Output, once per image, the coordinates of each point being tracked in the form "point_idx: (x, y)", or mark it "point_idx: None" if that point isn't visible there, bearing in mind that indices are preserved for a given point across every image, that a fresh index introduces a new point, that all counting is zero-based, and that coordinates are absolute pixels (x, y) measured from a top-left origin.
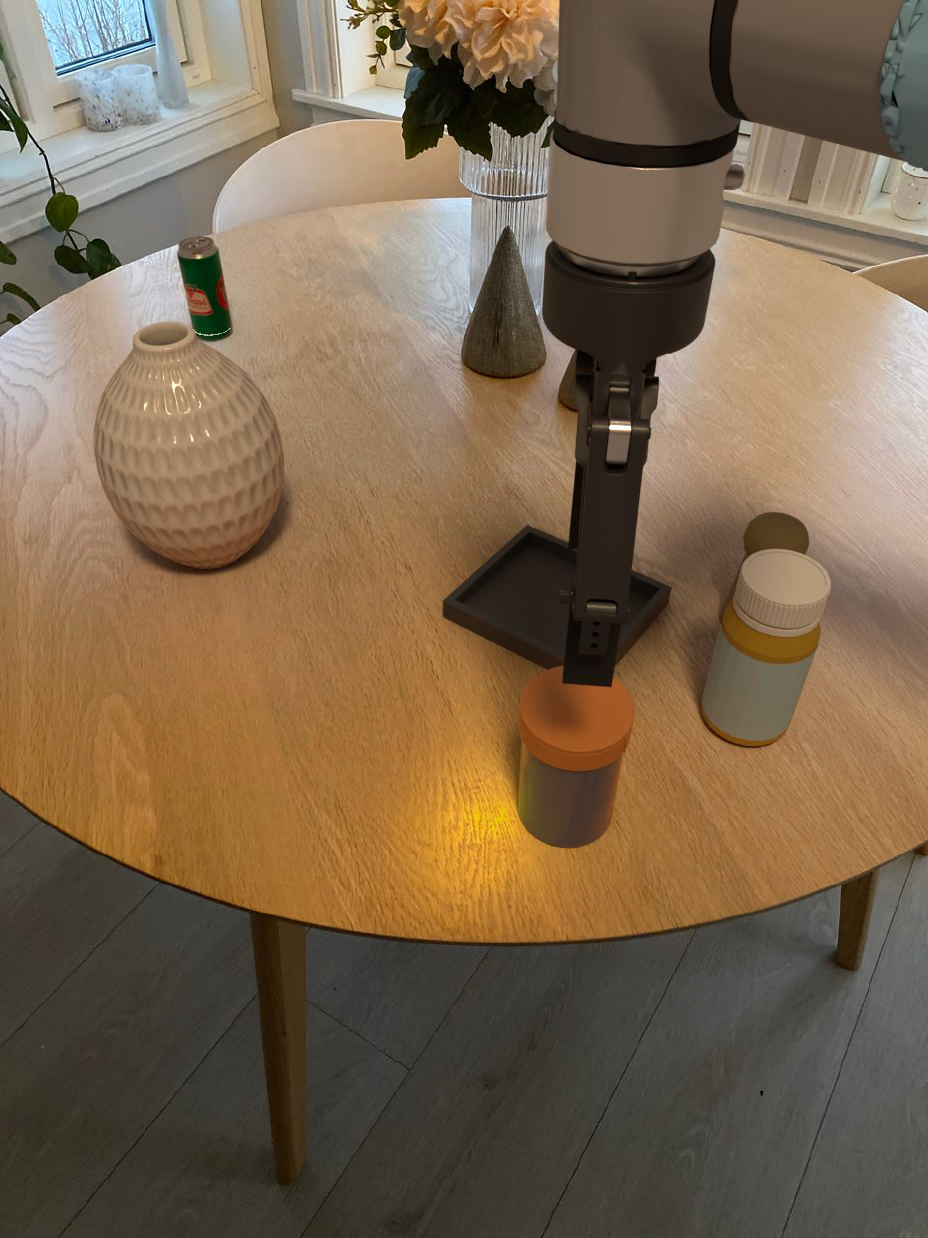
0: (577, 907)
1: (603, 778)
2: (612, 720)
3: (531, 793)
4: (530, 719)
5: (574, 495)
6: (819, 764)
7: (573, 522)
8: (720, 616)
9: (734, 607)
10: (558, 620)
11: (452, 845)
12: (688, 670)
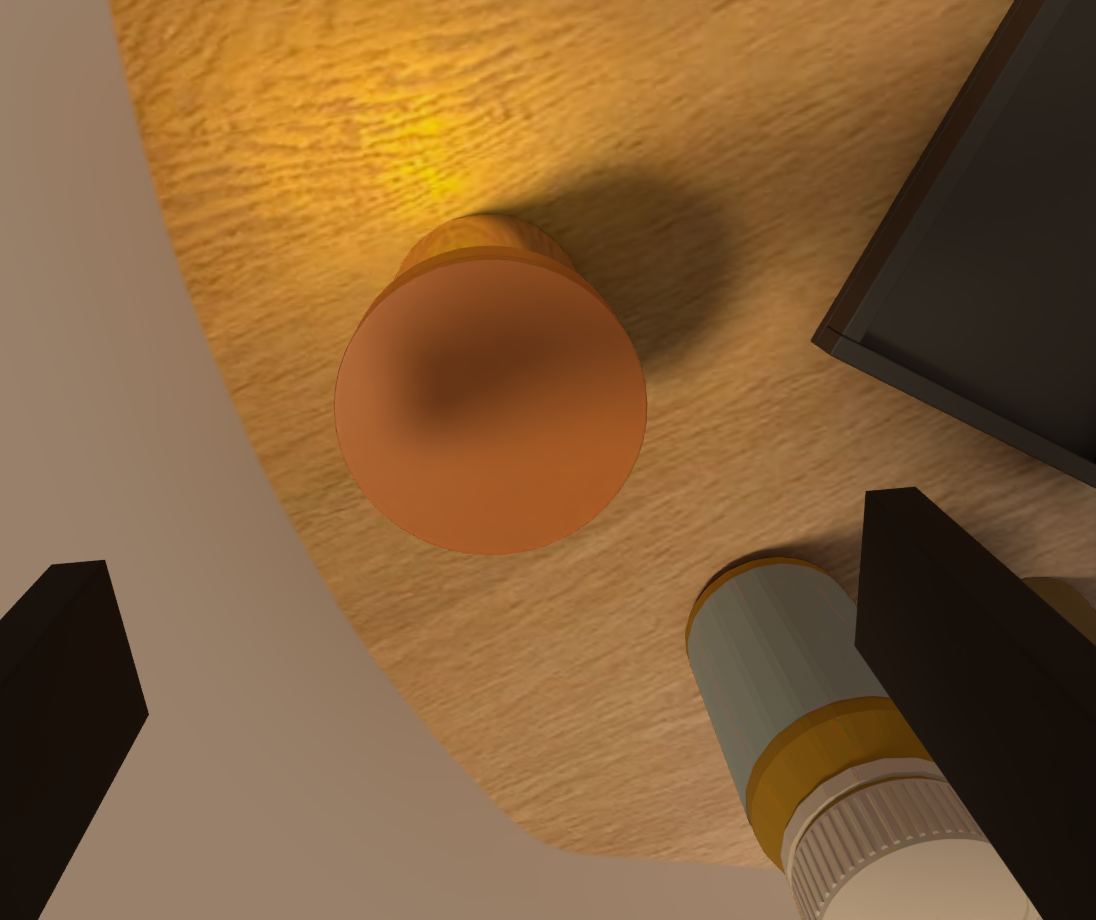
0: (268, 362)
1: None
2: (462, 507)
3: (402, 270)
4: (418, 298)
5: (1021, 659)
6: (666, 734)
7: (929, 572)
8: (1036, 583)
9: (877, 762)
10: (1035, 240)
11: (341, 83)
12: None
